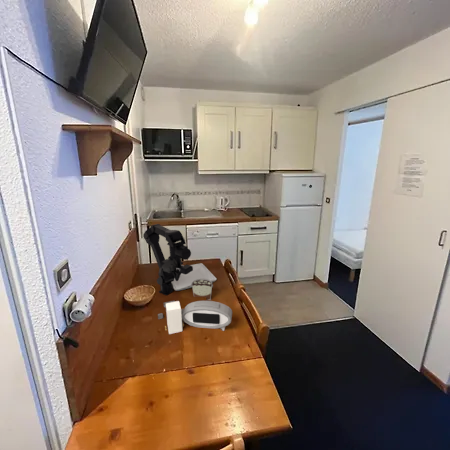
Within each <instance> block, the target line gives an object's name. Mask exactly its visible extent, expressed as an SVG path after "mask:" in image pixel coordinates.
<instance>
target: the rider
mask: <svg viewBox="0 0 450 450" xmlns="http://www.w3.org/2000/svg"><path fill="white" fill-rule="evenodd" d="M181 309H182V308H181V303H180V301H179V300H176V301H175V302H171V303H166V307H165V312H166V324H167V326H166V327H167V331H168V335H172V334H175V333H176V334H177V333H180V332H183V325H182V322H183V320H182V315H181Z"/></svg>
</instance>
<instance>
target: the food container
mask: <svg viewBox="0 0 450 450" xmlns="http://www.w3.org/2000/svg"><path fill="white" fill-rule="evenodd" d="M191 286H192V287H191V289H192V294H193V297H194V298H195V297H196V298H206V301H212V288H214V284H213V282H211V281H210V280H208V279H197V280H195V281H193V282H192V284H191Z"/></svg>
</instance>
